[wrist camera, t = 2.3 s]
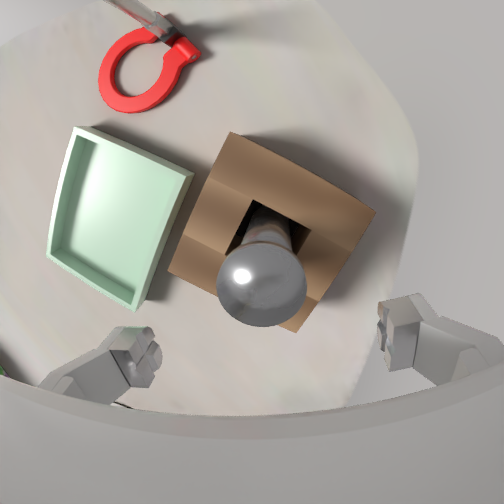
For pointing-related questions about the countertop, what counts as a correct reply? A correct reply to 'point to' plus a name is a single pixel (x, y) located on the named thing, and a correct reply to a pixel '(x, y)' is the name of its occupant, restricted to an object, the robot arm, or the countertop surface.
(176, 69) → the tow hook
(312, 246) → the block
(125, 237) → the tray
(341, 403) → the countertop surface
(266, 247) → the pin
